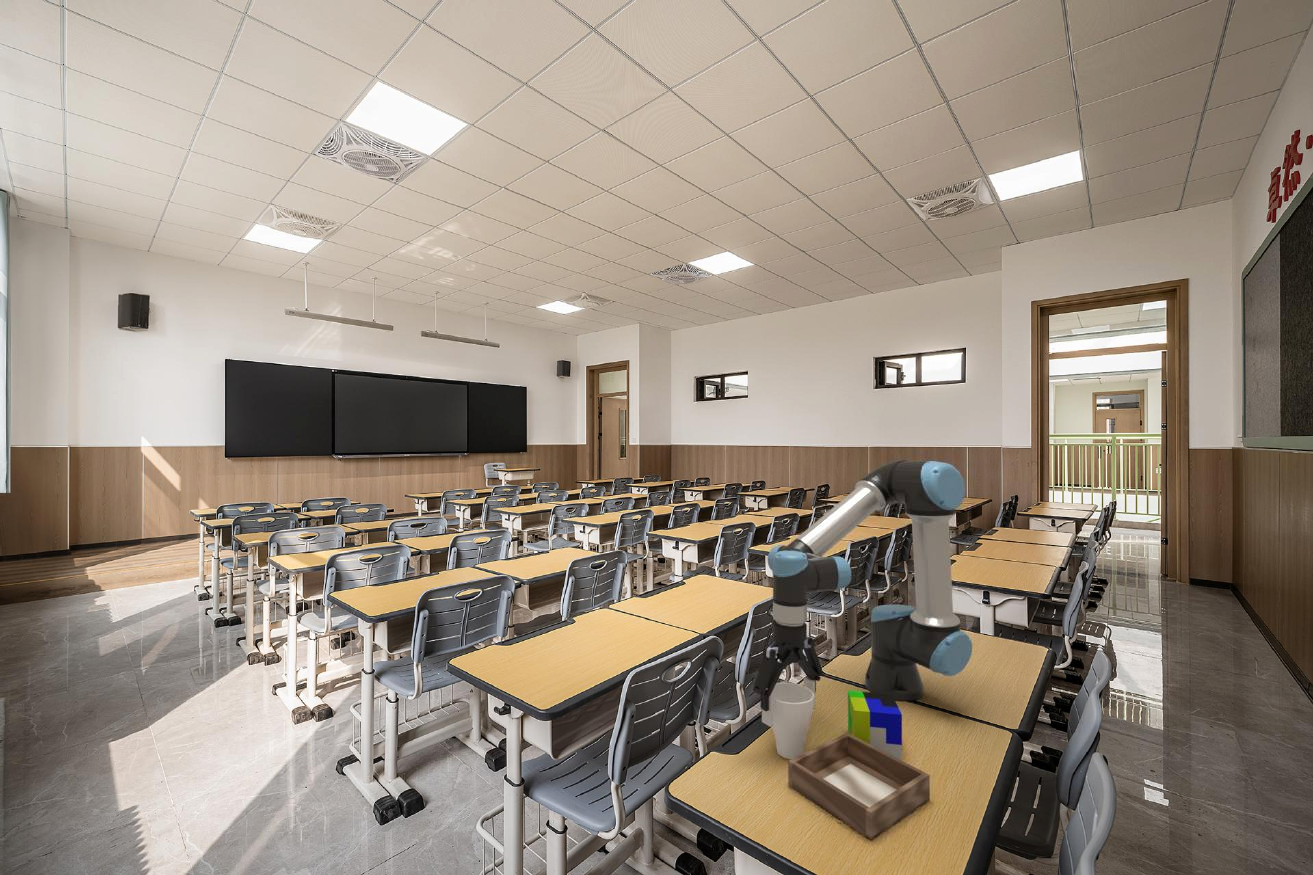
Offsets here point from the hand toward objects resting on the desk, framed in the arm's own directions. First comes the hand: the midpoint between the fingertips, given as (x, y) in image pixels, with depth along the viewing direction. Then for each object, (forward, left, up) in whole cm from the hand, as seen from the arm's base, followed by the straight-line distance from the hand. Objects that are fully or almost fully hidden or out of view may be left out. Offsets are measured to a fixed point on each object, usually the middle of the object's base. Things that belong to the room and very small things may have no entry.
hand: (788, 715), depth 125 cm
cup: (0, 0, -9) cm, 9 cm away
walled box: (0, +18, -8) cm, 19 cm away
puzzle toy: (-18, +9, -9) cm, 22 cm away
